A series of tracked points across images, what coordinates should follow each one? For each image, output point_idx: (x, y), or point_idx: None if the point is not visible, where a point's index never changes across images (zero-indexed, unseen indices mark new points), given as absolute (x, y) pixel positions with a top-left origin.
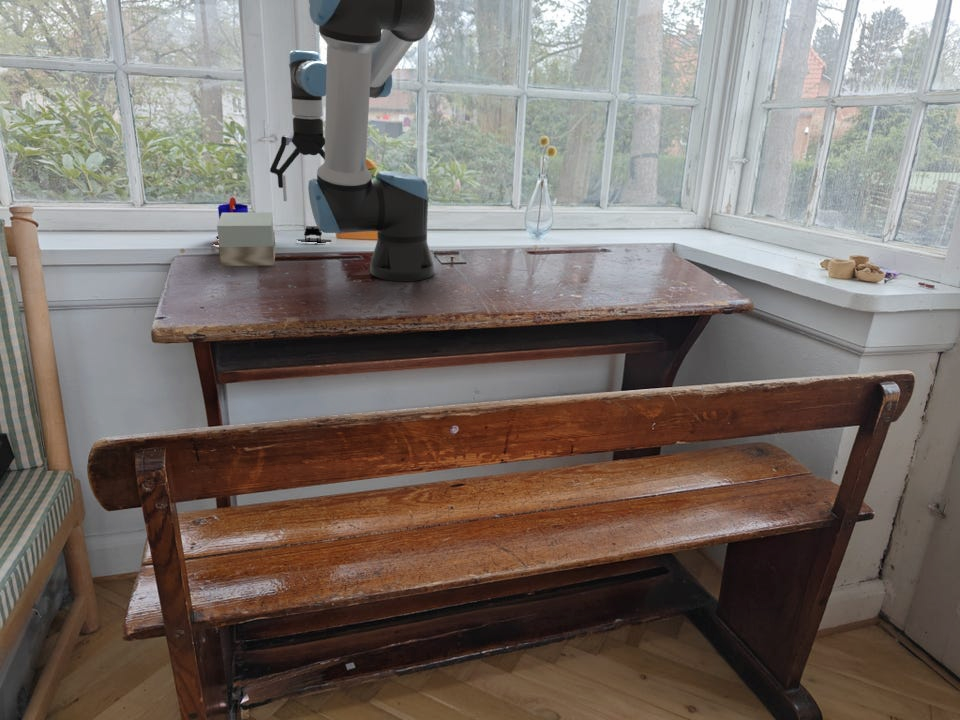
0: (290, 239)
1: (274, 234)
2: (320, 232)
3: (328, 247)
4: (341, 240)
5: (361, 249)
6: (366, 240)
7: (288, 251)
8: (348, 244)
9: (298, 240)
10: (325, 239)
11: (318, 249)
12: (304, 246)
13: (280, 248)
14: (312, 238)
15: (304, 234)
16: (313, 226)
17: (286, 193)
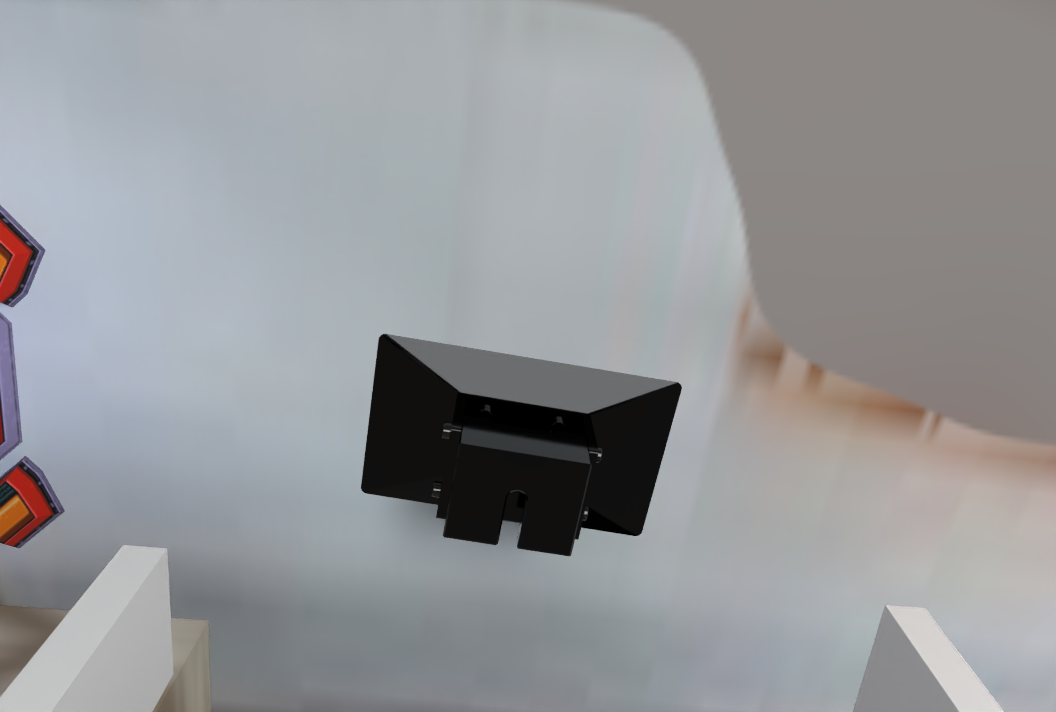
0: (323, 333)
1: (160, 708)
2: (579, 528)
3: (607, 615)
4: (760, 421)
5: (833, 691)
6: (969, 446)
7: (303, 681)
8: (781, 551)
9: (392, 390)
10: (627, 400)
11: (524, 657)
12: (428, 567)
13: (244, 600)
14: (513, 411)
15: (435, 495)
16: (529, 463)
17: (128, 634)
